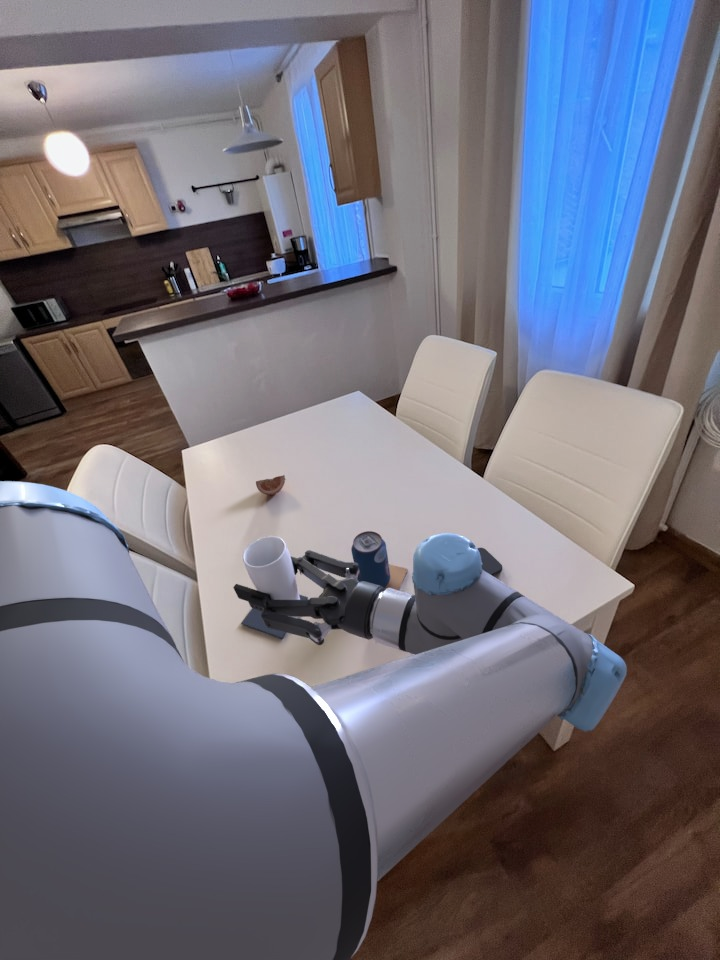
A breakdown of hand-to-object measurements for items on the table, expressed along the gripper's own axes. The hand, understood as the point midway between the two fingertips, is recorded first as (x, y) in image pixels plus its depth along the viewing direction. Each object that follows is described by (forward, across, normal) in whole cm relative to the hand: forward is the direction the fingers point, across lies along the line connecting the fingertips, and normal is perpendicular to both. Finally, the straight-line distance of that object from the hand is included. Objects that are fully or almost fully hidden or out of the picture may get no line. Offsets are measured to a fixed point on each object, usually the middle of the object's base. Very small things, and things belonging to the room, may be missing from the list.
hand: (250, 574), depth 66 cm
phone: (-29, +27, -19) cm, 44 cm away
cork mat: (-12, +18, -19) cm, 29 cm away
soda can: (-12, +18, -19) cm, 29 cm away
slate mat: (+5, +5, -19) cm, 20 cm away
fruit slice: (+29, +40, -19) cm, 53 cm away
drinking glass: (-5, 0, -8) cm, 10 cm away
